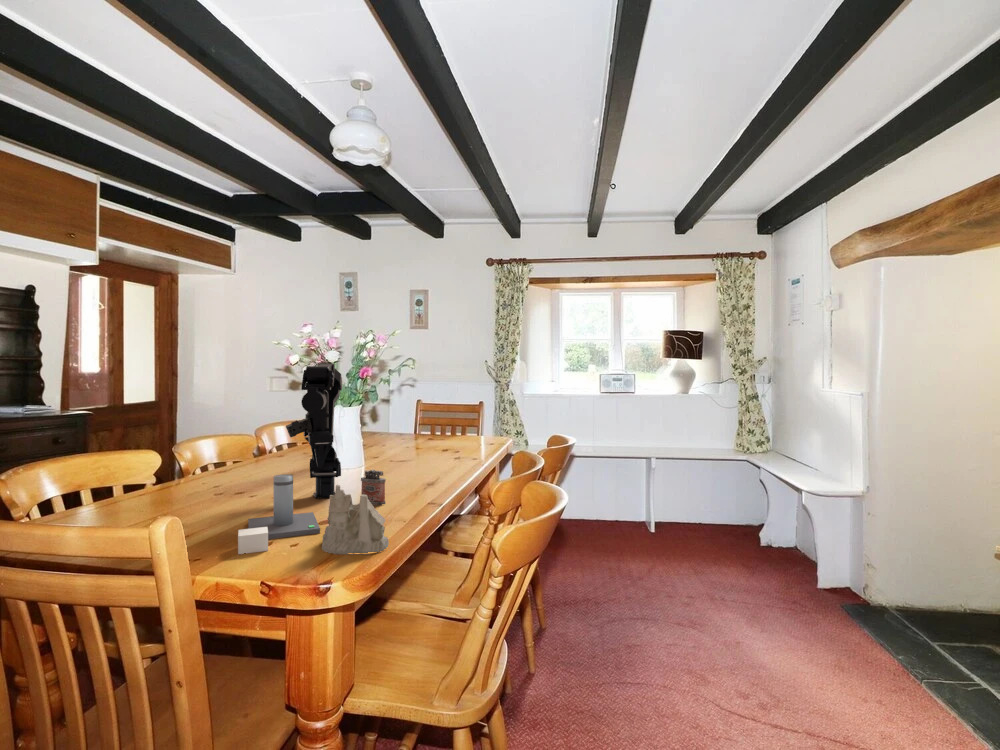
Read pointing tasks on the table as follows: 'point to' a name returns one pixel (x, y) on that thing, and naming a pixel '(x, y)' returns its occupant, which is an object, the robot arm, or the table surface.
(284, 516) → the grey cylinder
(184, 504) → the table surface
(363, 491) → the lighter
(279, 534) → the charging mat
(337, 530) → the stone castle ruin
